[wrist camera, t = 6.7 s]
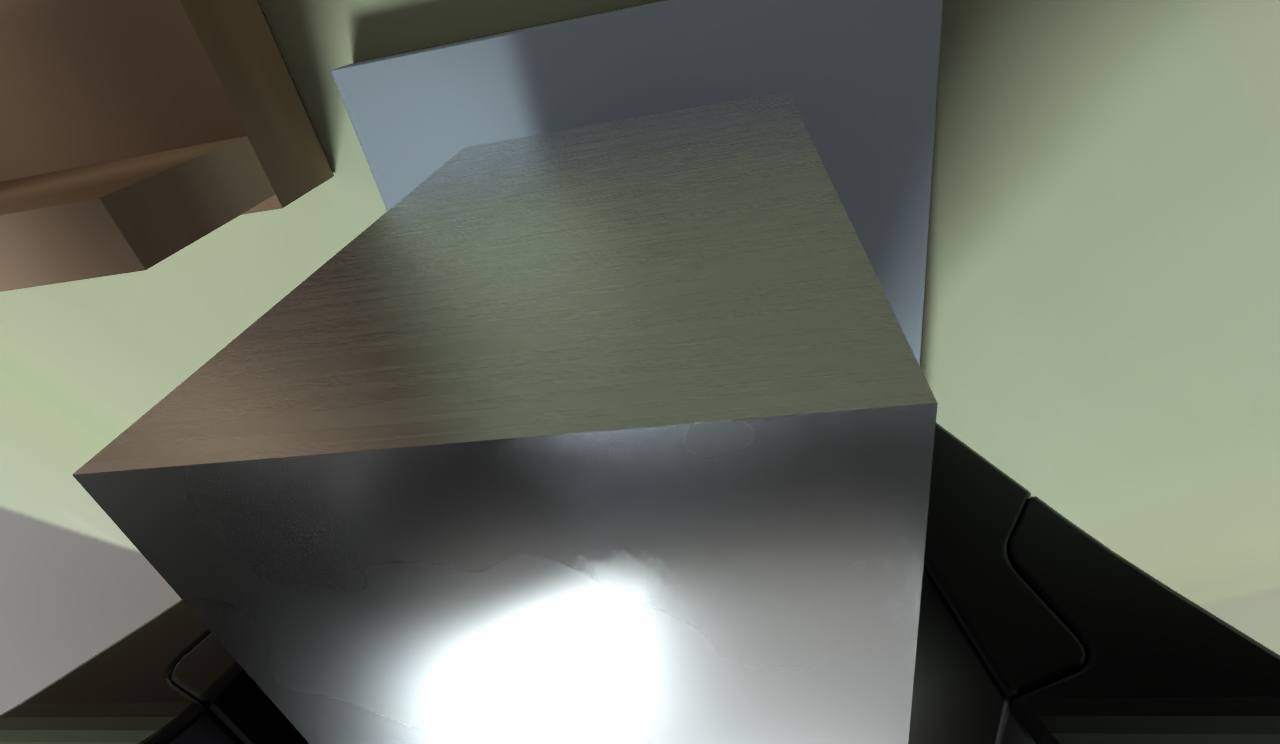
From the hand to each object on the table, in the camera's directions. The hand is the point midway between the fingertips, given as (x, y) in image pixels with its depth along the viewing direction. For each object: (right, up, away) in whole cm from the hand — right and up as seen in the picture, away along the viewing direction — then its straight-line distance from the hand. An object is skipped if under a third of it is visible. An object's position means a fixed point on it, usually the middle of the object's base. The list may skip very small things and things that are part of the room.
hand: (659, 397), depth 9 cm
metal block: (0, 0, +1) cm, 1 cm away
